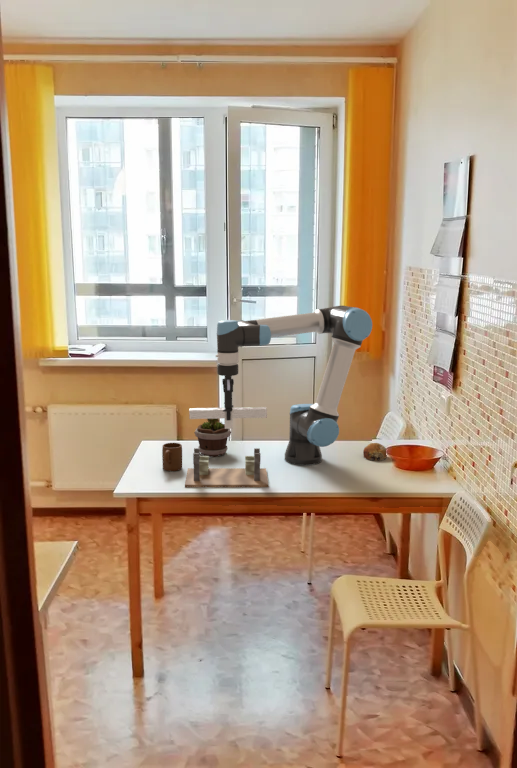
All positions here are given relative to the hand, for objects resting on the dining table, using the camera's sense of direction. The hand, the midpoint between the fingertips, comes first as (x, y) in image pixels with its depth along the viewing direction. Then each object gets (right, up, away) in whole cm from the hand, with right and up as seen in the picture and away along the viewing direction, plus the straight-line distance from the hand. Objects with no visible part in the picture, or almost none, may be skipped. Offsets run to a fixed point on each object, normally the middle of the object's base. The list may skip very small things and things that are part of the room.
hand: (228, 426), depth 242 cm
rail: (0, +4, -1) cm, 4 cm away
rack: (-1, -20, +4) cm, 20 cm away
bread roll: (+59, -15, +33) cm, 69 cm away
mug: (-23, -18, +13) cm, 32 cm away
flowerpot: (-8, -14, +34) cm, 38 cm away
